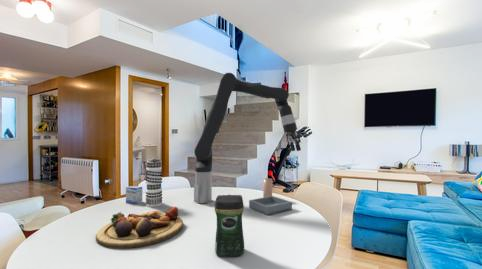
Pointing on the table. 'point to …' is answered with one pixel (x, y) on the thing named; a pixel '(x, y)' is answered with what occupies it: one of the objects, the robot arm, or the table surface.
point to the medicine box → (133, 194)
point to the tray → (270, 205)
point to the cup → (267, 187)
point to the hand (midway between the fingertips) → (296, 150)
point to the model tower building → (153, 182)
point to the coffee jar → (229, 225)
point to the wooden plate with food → (139, 229)
